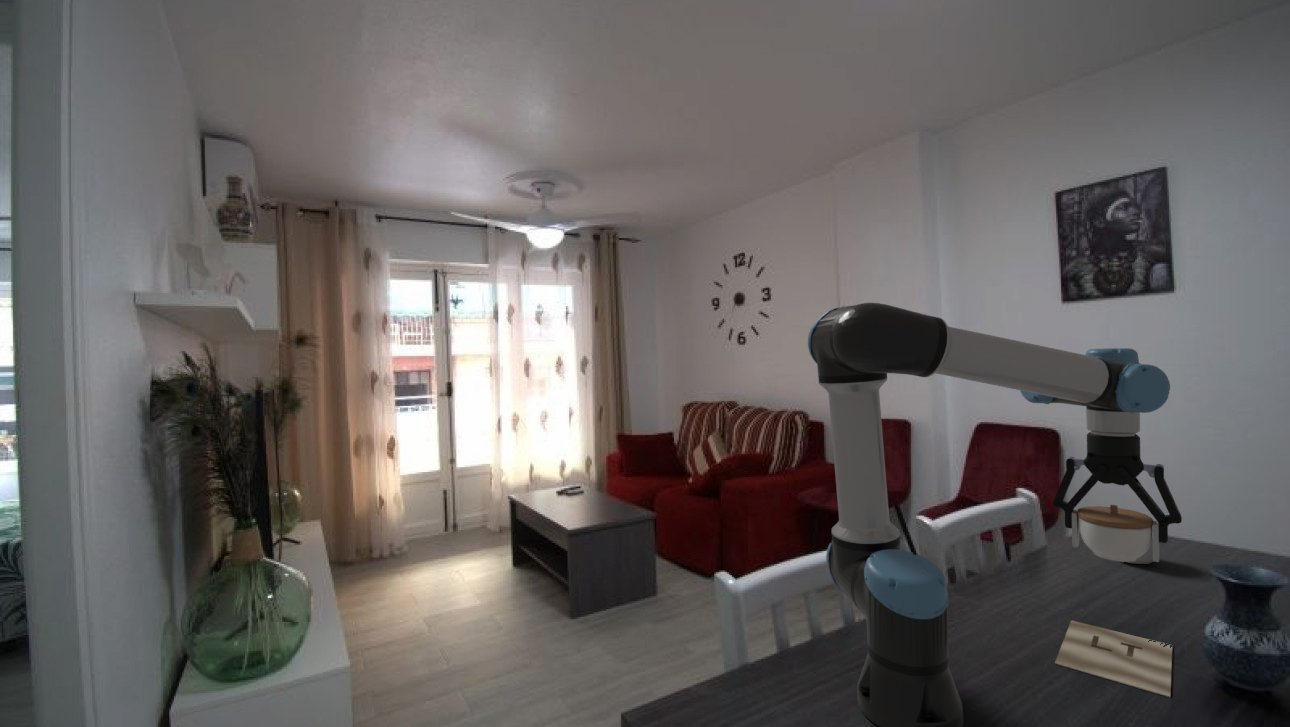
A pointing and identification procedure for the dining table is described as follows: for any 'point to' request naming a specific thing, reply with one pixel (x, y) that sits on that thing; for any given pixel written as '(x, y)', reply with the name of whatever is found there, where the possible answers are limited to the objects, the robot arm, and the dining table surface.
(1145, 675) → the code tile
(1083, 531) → the lidded jar
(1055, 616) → the dining table surface
